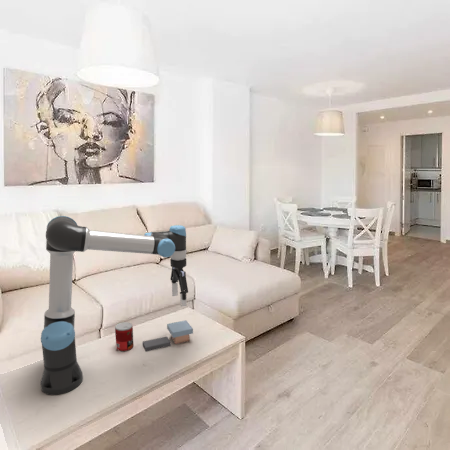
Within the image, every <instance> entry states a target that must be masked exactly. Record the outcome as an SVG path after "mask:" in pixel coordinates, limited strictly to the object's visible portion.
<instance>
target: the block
mask: <svg viewBox="0 0 450 450" xmlns="http://www.w3.org/2000/svg"><path fill="white" fill-rule="evenodd" d="M171 345H172V344H171V340H170V339H169V337H168V336H162V337H158V338H154V339H149V340H144V341H142V346H143V349H144V351H145V352H150V351H154V350H158V349H164V348H168V347H171Z"/></svg>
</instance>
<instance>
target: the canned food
mask: <svg viewBox="0 0 450 450" xmlns="http://www.w3.org/2000/svg"><path fill="white" fill-rule="evenodd" d="M133 328H134V327H133V323H132V322H130V321H129V322H128V321H123V322H120V323H117V324H115V327H114V333H115V346H116V350H118V351H119V352H127V351H130V350H131V349H132V348H133V347H134V332H133V331H134V329H133Z"/></svg>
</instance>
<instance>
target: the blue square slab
mask: <svg viewBox="0 0 450 450" xmlns="http://www.w3.org/2000/svg"><path fill="white" fill-rule="evenodd" d="M166 329H167V331H168V332H169V334H170V335H172V337H173V338H174V337H179V336H183V335H188V334H189V335H192V334H194V331H193V330H194V329H193V327H192V325H190V323H189V322H188V320H181V321H176V322H170V323H166Z"/></svg>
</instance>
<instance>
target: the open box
mask: <svg viewBox="0 0 450 450" xmlns="http://www.w3.org/2000/svg"><path fill="white" fill-rule="evenodd" d="M170 335H171V334H170ZM170 338H171V340H172V341H173V343H174V344H175V345H178V344H182V343H186V342H190V334H188V335H183V336H179V337H174V338H173V337H172V335H171V337H170Z"/></svg>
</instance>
